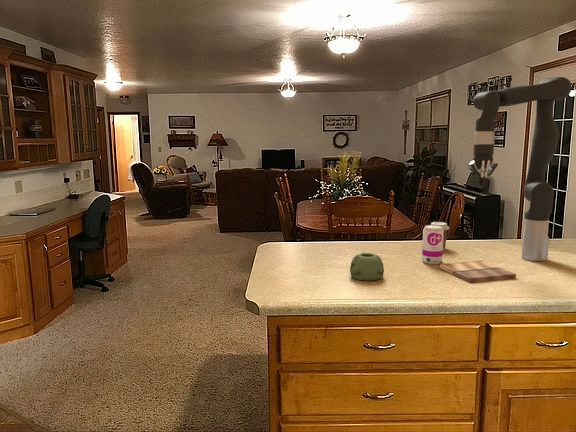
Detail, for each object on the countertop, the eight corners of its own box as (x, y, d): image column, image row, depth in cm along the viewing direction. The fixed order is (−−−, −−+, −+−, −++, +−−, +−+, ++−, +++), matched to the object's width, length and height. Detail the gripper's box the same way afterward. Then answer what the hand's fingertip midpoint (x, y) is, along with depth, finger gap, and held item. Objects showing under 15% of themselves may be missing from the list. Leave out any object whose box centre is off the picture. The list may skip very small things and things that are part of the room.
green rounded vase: (387, 282, 175) (388, 258, 174) (352, 282, 175) (352, 259, 174) (378, 270, 191) (378, 248, 190) (345, 270, 191) (346, 249, 189)
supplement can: (443, 264, 198) (444, 229, 195) (422, 263, 199) (423, 228, 197) (441, 259, 206) (442, 225, 203) (421, 259, 207) (422, 224, 205)
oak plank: (483, 264, 196) (483, 260, 196) (498, 271, 188) (498, 267, 188) (440, 267, 191) (440, 263, 191) (453, 275, 183) (453, 271, 183)
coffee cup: (424, 246, 231) (425, 221, 229) (443, 245, 232) (444, 221, 230) (432, 250, 222) (433, 225, 220) (451, 250, 223) (452, 224, 221)
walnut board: (499, 271, 187) (499, 267, 187) (515, 278, 179) (516, 273, 178) (454, 275, 182) (454, 271, 182) (469, 282, 174) (469, 278, 173)
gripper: (492, 142, 196) (489, 185, 199) (463, 143, 193) (461, 186, 196) (504, 143, 189) (501, 187, 192) (475, 143, 186) (473, 188, 188)
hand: (481, 186), depth 194 cm, fingers closed
